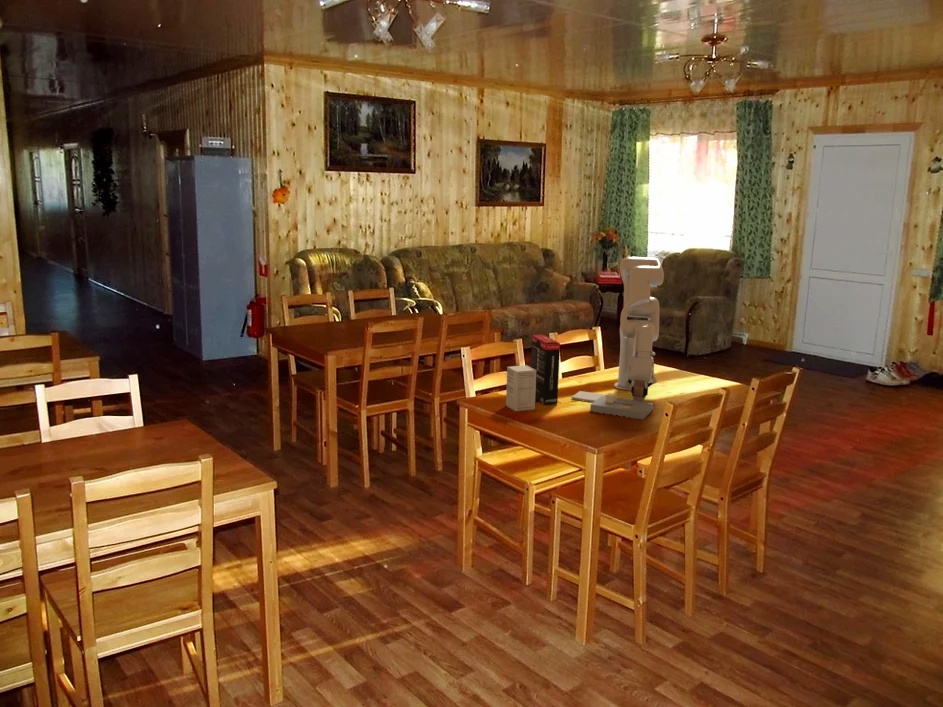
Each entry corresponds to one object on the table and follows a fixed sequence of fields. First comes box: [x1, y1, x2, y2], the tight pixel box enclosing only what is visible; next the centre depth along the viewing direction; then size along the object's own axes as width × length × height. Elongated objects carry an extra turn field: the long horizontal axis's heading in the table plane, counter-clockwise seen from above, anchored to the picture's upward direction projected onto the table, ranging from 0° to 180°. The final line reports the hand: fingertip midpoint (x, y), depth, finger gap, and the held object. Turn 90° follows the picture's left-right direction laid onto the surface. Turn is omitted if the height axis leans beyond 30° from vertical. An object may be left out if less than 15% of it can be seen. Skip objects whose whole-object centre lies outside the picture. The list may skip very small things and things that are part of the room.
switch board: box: [589, 396, 654, 421], centre depth 332 cm, size 16×22×3 cm
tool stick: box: [632, 380, 646, 402], centre depth 340 cm, size 4×4×14 cm
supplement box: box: [505, 364, 536, 412], centre depth 331 cm, size 10×9×17 cm
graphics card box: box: [530, 334, 561, 406], centre depth 342 cm, size 17×7×27 cm, turn 18°
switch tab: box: [605, 392, 617, 403], centre depth 334 cm, size 4×3×3 cm
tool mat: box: [570, 390, 607, 403], centre depth 351 cm, size 12×12×1 cm
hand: (639, 395), depth 341 cm, fingers closed on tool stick, 4 cm apart
